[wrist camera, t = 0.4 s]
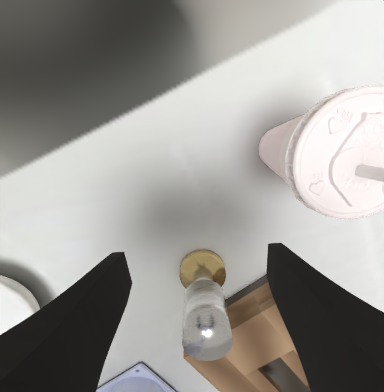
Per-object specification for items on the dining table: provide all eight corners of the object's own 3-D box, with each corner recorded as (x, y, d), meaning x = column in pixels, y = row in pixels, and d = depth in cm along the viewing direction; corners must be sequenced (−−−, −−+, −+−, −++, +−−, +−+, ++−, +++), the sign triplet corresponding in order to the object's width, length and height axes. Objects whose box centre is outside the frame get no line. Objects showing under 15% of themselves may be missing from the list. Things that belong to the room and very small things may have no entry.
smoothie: (241, 181, 20) (344, 275, 6) (246, 109, 18) (405, 32, 5) (307, 181, 20) (550, 276, 6) (319, 110, 18) (691, 34, 5)
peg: (198, 294, 24) (201, 376, 16) (171, 265, 23) (160, 337, 14) (232, 272, 23) (254, 346, 15) (206, 241, 22) (214, 303, 14)
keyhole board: (280, 418, 30) (292, 458, 26) (184, 325, 25) (183, 358, 21) (364, 379, 27) (390, 417, 24) (276, 268, 23) (293, 293, 19)
